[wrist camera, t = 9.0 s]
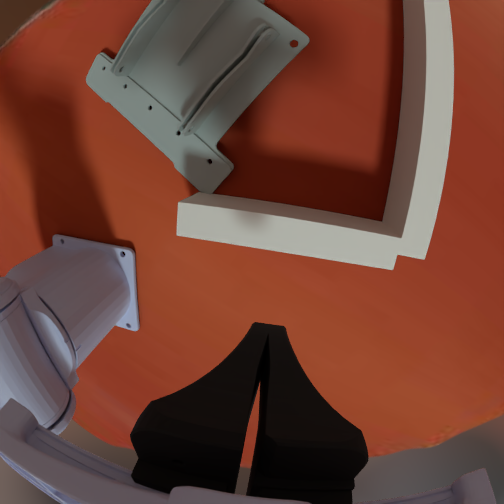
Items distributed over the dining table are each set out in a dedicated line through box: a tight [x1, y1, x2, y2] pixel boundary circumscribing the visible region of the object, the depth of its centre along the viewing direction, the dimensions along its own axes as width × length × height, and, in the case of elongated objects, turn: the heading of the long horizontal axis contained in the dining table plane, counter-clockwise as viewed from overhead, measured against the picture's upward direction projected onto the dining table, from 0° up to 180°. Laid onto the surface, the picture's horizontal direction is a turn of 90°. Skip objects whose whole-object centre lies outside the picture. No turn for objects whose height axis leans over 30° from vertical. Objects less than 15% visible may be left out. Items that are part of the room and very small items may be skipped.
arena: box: [177, 0, 454, 270], centre depth 14 cm, size 15×23×4 cm, turn 173°
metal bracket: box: [86, 0, 310, 194], centre depth 16 cm, size 14×6×15 cm
